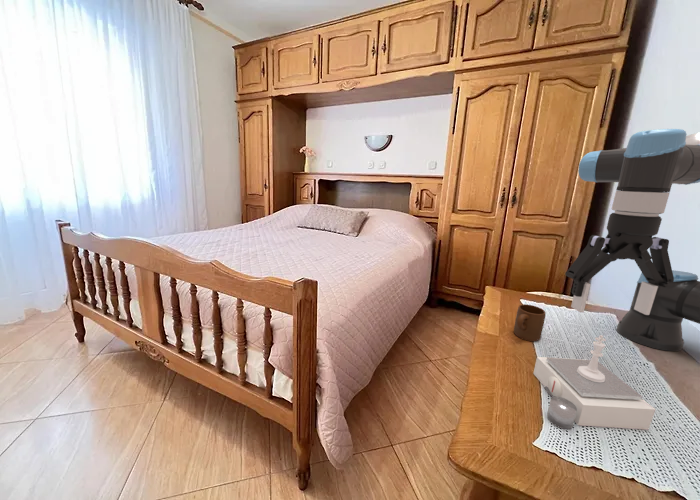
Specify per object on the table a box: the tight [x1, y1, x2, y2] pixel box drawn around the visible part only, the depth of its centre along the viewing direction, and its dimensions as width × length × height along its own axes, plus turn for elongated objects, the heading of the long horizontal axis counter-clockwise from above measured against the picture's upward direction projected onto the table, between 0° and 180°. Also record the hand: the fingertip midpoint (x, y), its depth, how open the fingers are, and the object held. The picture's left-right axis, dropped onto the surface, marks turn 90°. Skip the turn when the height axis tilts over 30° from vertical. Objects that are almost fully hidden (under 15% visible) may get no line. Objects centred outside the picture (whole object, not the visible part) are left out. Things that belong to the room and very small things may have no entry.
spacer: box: [546, 397, 577, 430], centre depth 59 cm, size 4×4×4 cm
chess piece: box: [577, 334, 607, 383], centre depth 64 cm, size 5×5×10 cm
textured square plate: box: [546, 357, 644, 400], centre depth 65 cm, size 12×12×1 cm
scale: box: [533, 356, 656, 431], centre depth 66 cm, size 14×16×5 cm
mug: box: [513, 303, 547, 342], centre depth 90 cm, size 12×8×9 cm, turn 126°
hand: (609, 311), depth 62 cm, fingers open, 13 cm apart
